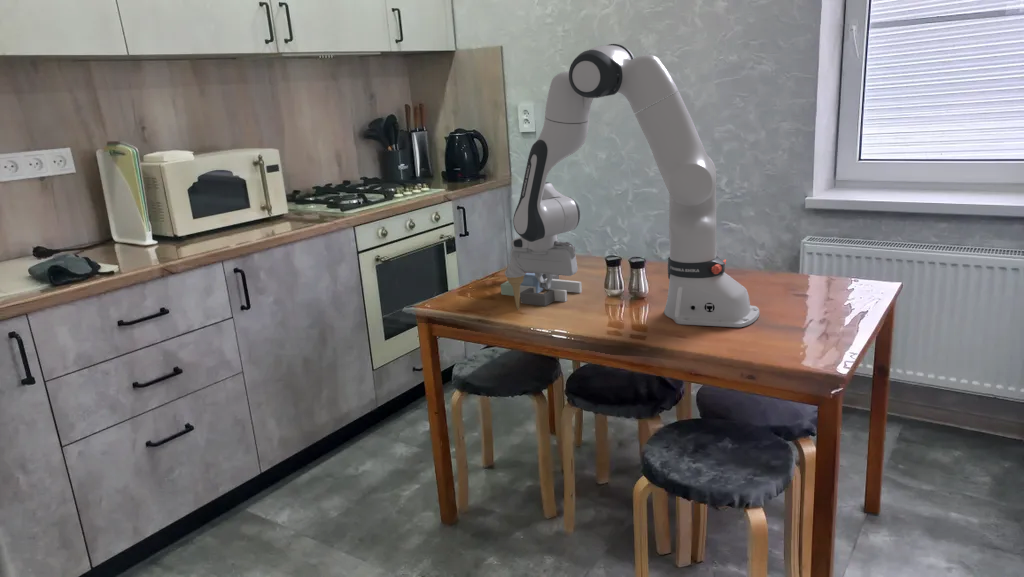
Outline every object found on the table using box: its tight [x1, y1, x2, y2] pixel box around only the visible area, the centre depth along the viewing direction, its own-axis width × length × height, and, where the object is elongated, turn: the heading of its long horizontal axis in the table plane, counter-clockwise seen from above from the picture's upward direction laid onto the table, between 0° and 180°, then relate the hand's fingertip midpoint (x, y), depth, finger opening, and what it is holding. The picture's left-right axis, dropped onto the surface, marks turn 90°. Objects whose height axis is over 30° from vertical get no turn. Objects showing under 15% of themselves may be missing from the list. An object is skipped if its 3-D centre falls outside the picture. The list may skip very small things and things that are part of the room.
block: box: [521, 273, 544, 293], centre depth 202 cm, size 5×5×5 cm
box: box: [500, 274, 583, 307], centre depth 201 cm, size 21×20×3 cm
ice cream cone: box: [504, 256, 525, 311], centre depth 186 cm, size 6×6×15 cm
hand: (545, 287), depth 200 cm, fingers closed
